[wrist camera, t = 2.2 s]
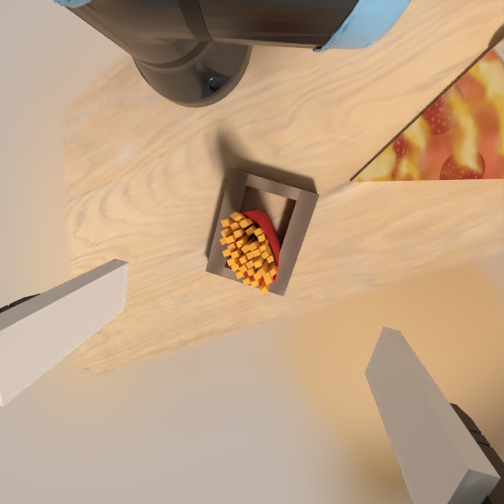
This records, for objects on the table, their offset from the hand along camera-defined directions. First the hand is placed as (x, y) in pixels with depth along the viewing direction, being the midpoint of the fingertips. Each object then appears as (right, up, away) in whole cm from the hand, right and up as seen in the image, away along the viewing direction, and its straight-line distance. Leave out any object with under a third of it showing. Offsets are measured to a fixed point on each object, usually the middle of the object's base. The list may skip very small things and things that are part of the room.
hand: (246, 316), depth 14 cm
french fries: (+2, +6, +26) cm, 27 cm away
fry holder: (+2, +6, +26) cm, 27 cm away
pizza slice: (+24, +20, +20) cm, 37 cm away
